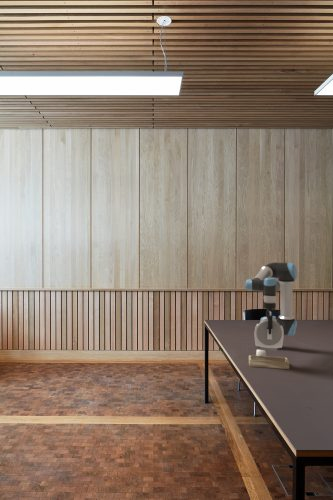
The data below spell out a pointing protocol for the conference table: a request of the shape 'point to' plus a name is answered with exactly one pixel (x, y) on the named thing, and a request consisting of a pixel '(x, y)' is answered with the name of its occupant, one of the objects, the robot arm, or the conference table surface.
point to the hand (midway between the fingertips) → (268, 337)
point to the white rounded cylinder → (260, 352)
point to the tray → (268, 362)
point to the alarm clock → (261, 335)
